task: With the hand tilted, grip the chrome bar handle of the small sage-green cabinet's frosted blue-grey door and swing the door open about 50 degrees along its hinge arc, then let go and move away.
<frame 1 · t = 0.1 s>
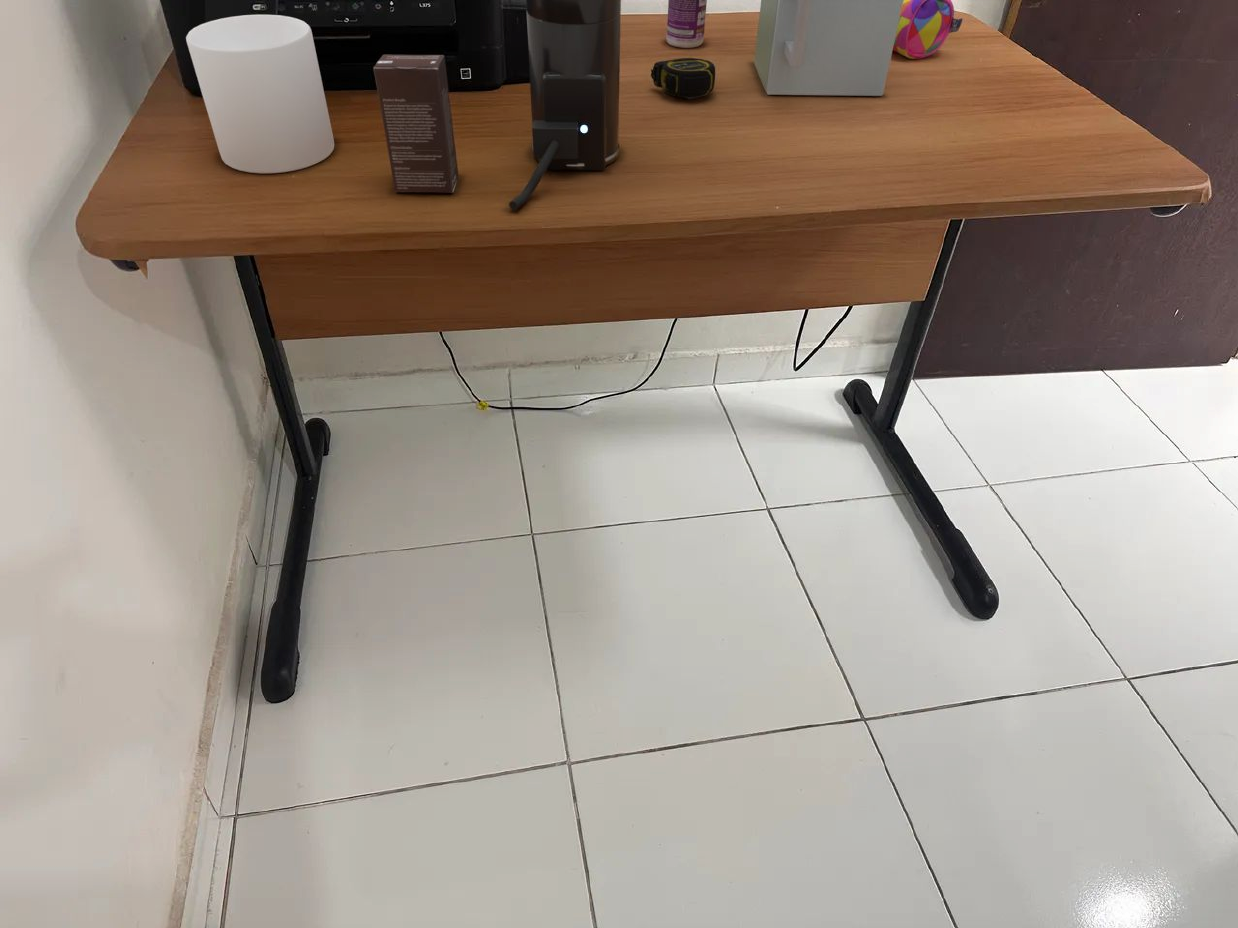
white cylinder: (279, 153, 93), on the table
pill bottle: (684, 44, 124), on the table
cabinet door: (841, 31, 101), point 8 cm above the table, hinge at 0.0°
colourful patchwork ball: (880, 40, 127), on the table
box: (427, 186, 88), on the table
tape measure: (681, 94, 109), on the table
cabinet: (814, 78, 114), on the table
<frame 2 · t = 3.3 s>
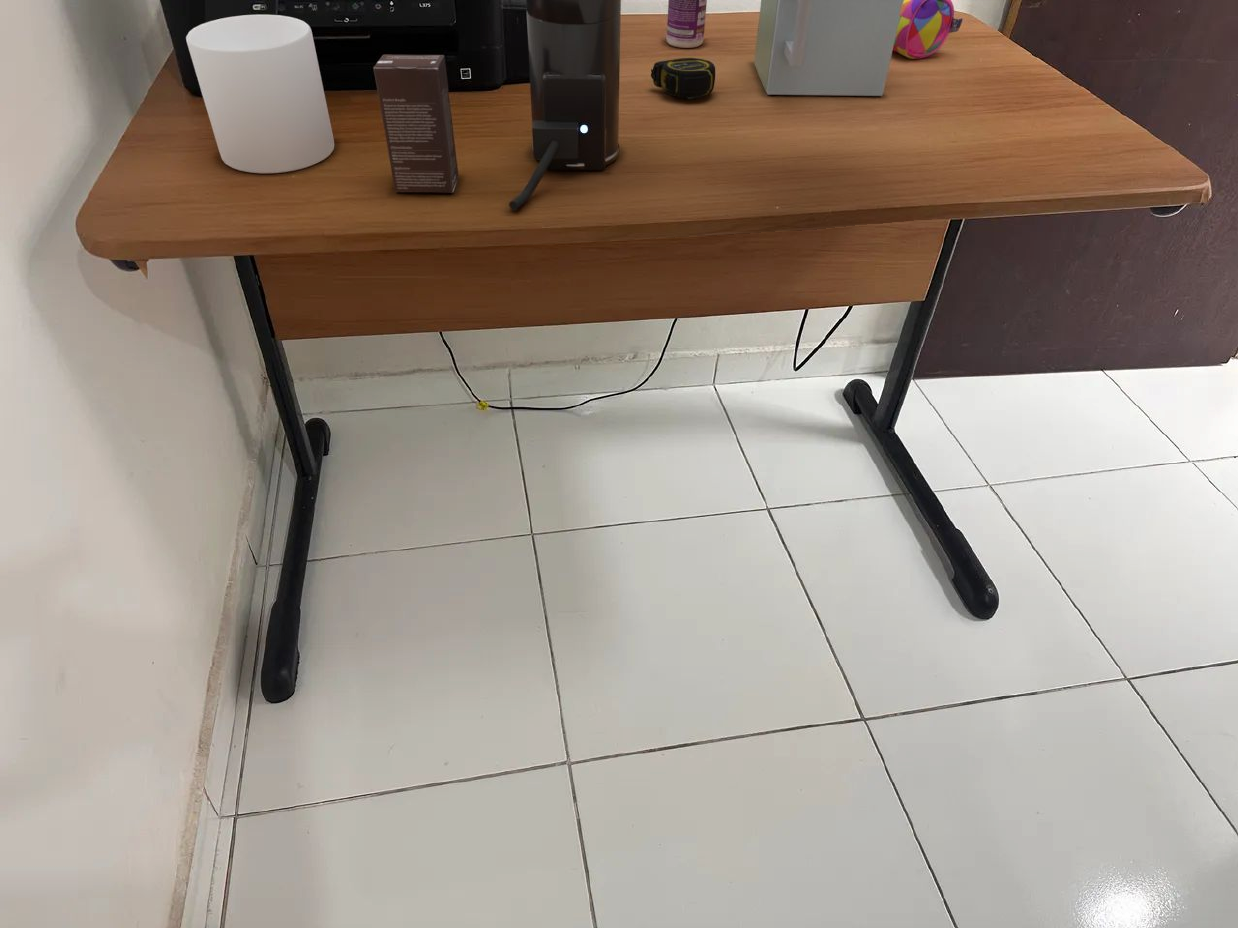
nothing on the table moved.
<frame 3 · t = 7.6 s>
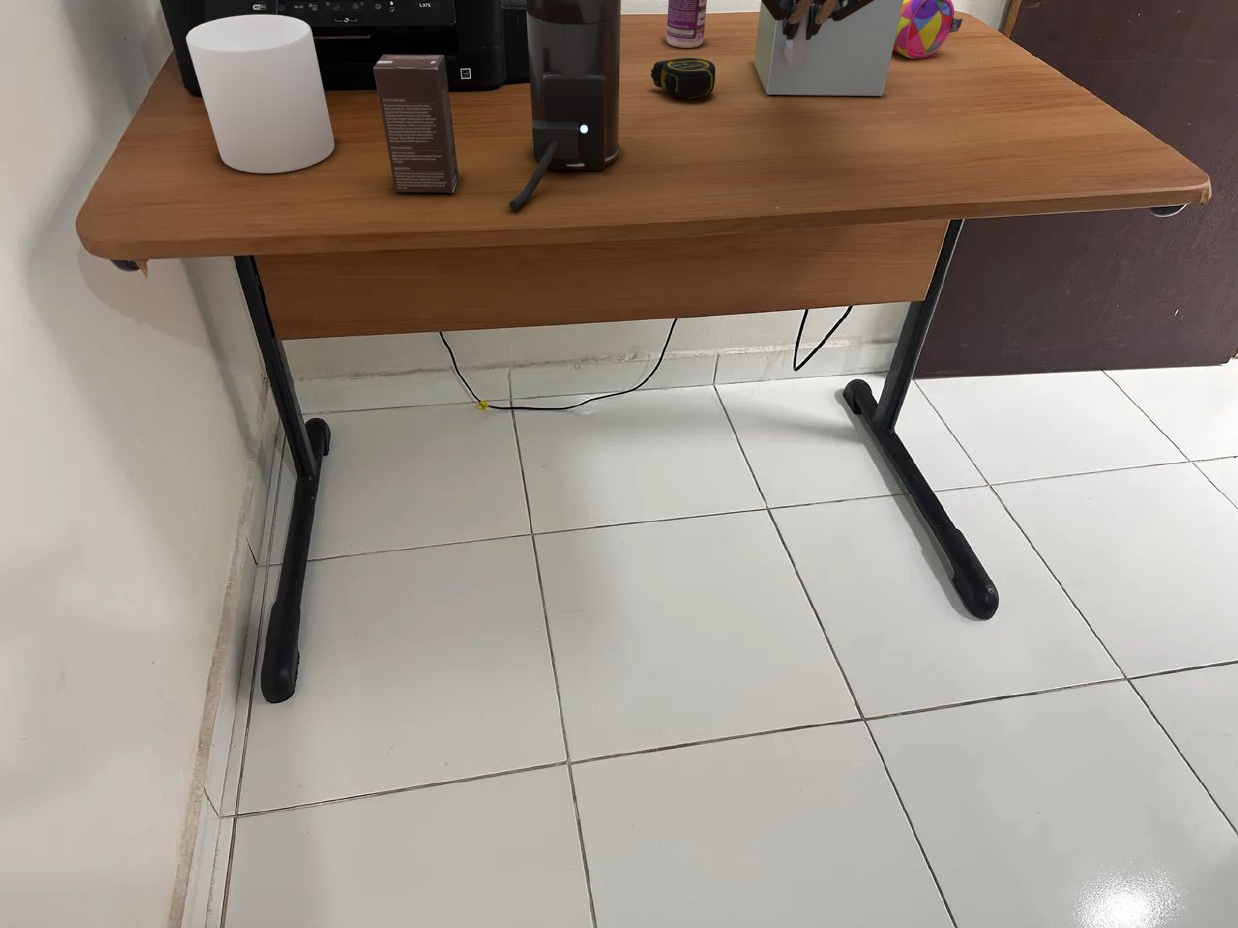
hand: (797, 32, 100), 8 cm above the table, tool tilted 45°, fingers closed
cabinet door: (841, 30, 101), point 8 cm above the table, hinge at -0.1°, touching gripper
everything else where it was.
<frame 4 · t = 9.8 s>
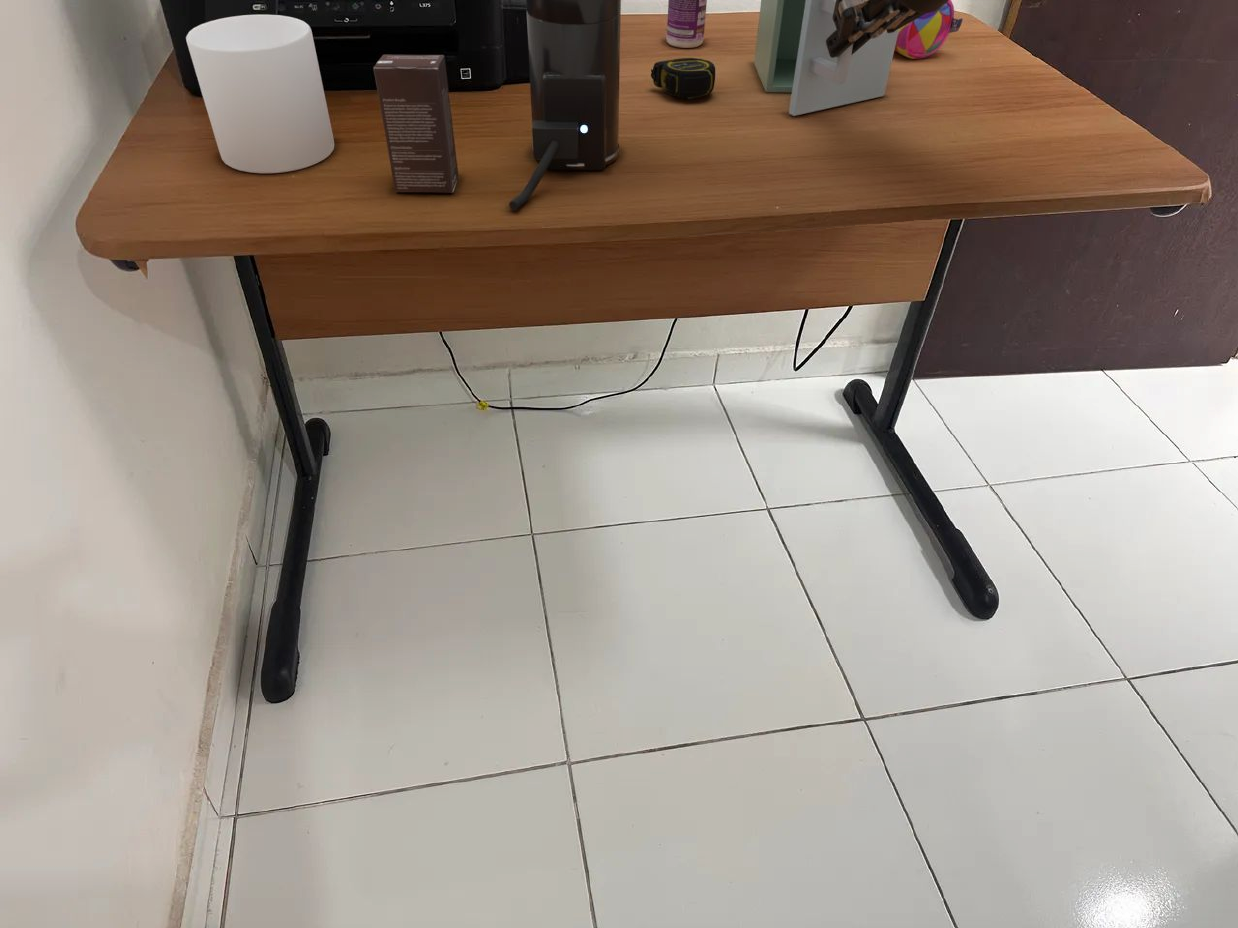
hand: (837, 48, 96), 8 cm above the table, tool tilted 45°, fingers closed
cabinet door: (866, 39, 99), point 8 cm above the table, hinge at 29.3°, touching gripper
everything else where it was.
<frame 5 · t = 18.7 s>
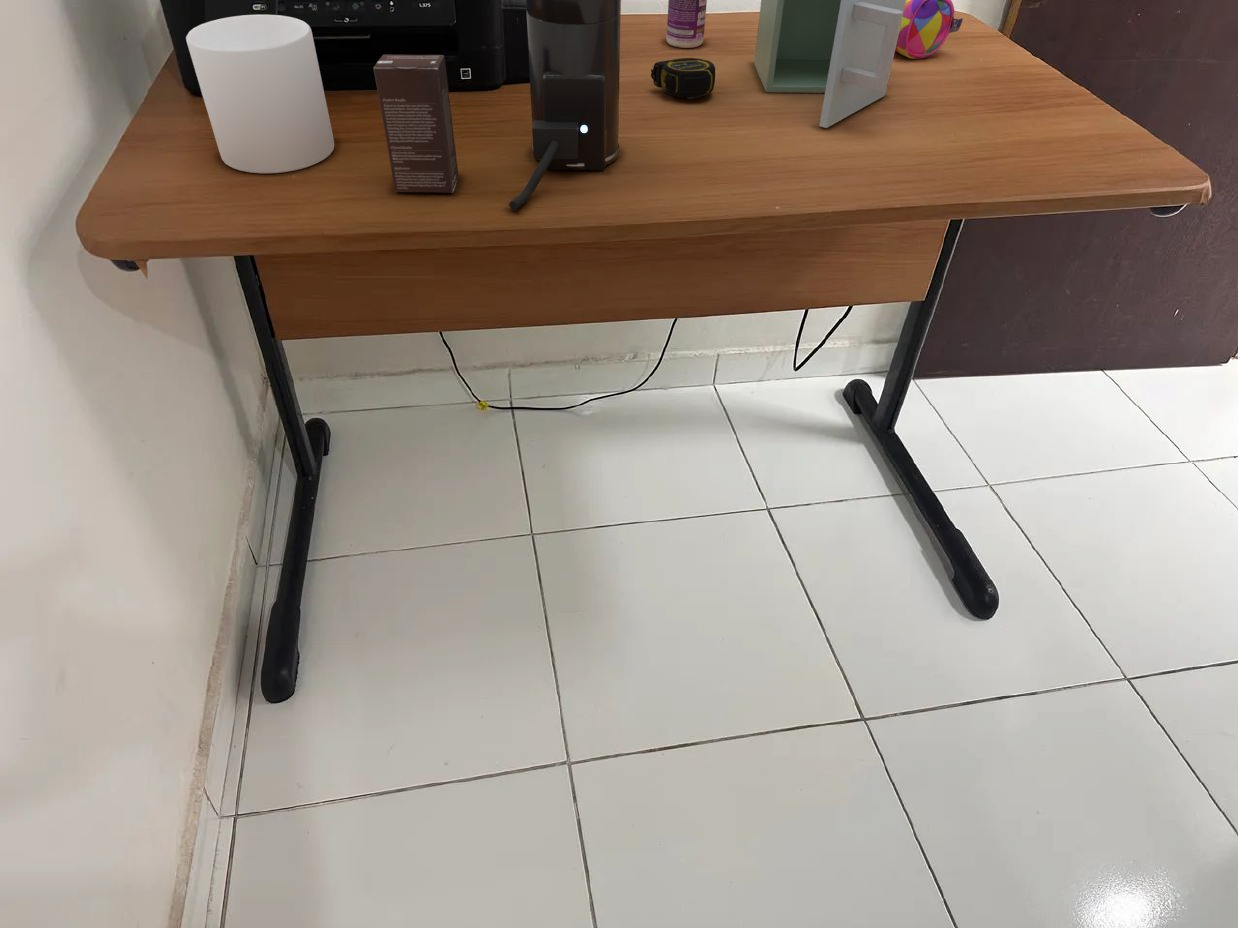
cabinet door: (888, 43, 98), point 8 cm above the table, hinge at 48.4°
everything else where it was.
at the end: cabinet door at +48° (first picture: +0°) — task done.
